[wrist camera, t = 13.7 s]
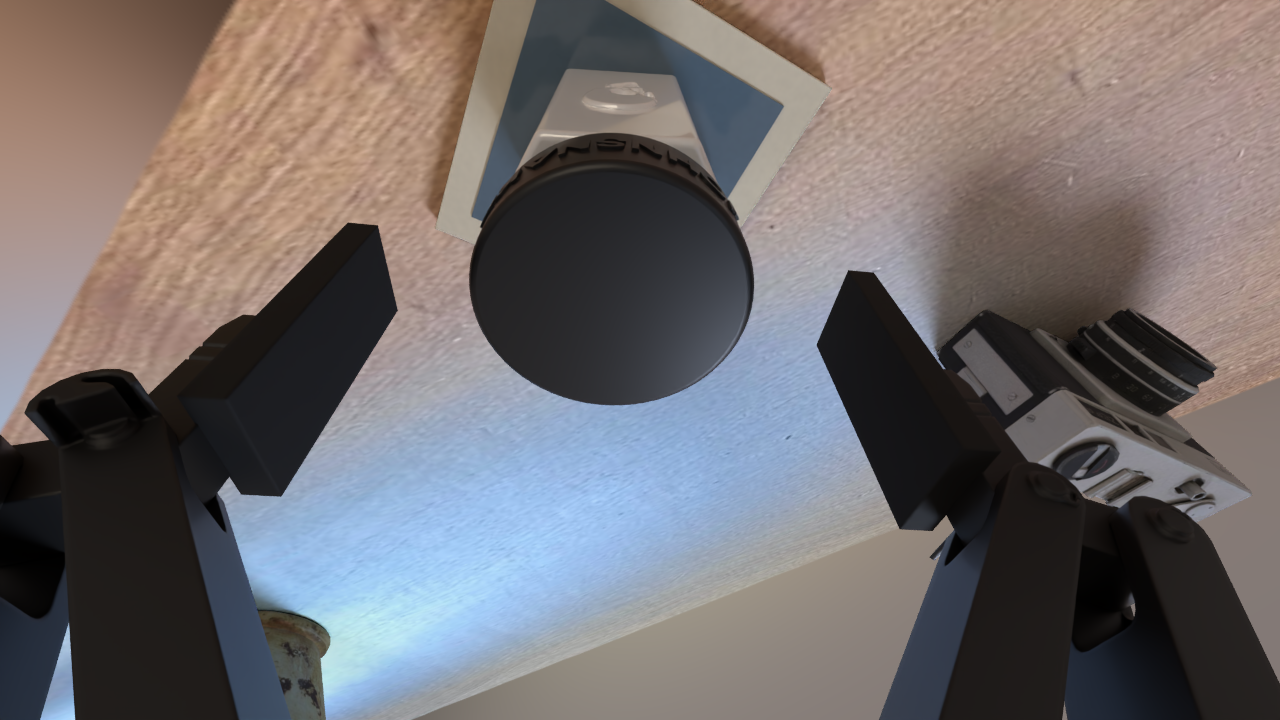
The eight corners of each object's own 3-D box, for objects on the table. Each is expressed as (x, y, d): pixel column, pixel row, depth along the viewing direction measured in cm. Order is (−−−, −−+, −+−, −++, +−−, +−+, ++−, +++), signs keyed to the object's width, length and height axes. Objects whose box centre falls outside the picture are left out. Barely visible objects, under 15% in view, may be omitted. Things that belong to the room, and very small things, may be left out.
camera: (1187, 349, 33) (1350, 480, 25) (1046, 427, 38) (1146, 556, 30) (1072, 241, 28) (1232, 364, 20) (927, 348, 33) (1012, 478, 25)
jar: (727, 72, 21) (805, 169, 12) (701, 248, 27) (741, 412, 17) (512, 57, 21) (421, 148, 12) (528, 240, 26) (474, 404, 17)
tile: (524, -105, 18) (520, -107, 18) (827, 84, 23) (833, 89, 22) (439, 222, 26) (434, 229, 26) (675, 318, 30) (676, 327, 30)
